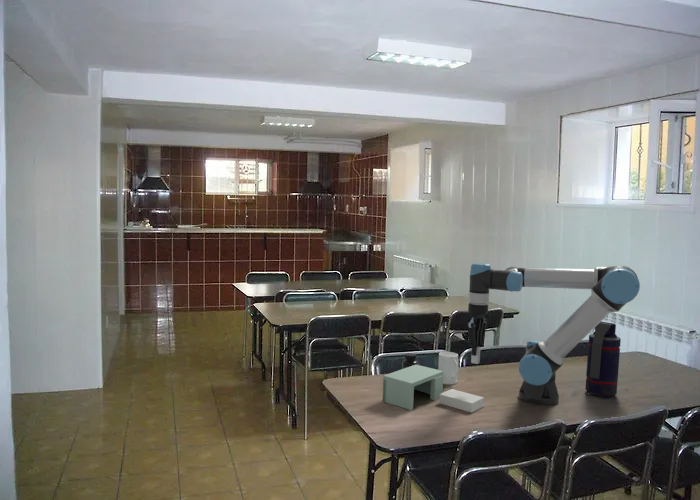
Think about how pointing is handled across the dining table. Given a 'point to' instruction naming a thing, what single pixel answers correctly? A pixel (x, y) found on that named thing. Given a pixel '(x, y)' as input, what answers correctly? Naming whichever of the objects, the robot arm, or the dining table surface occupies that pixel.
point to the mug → (448, 367)
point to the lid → (461, 400)
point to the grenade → (603, 360)
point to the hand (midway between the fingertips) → (475, 362)
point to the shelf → (411, 385)
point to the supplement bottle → (409, 360)
